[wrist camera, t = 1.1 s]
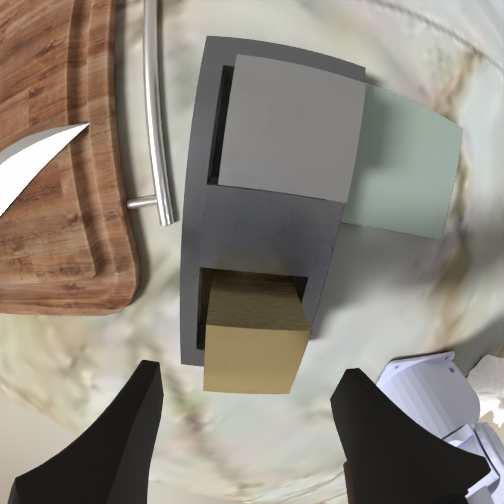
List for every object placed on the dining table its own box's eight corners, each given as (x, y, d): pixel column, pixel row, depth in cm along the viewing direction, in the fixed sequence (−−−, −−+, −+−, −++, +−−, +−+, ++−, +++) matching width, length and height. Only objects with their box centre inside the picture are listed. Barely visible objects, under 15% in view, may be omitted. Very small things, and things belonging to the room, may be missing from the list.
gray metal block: (313, 103, 12) (366, 83, 7) (301, 177, 14) (346, 203, 8) (235, 90, 12) (236, 54, 6) (224, 166, 13) (217, 184, 8)
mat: (458, 127, 13) (462, 127, 12) (436, 238, 16) (439, 240, 15) (361, 82, 12) (364, 81, 11) (337, 220, 15) (340, 222, 14)
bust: (453, 390, 29) (503, 410, 21) (438, 424, 25) (494, 446, 17) (485, 331, 24) (542, 354, 16) (478, 367, 20) (542, 392, 12)
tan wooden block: (285, 264, 16) (311, 331, 10) (273, 320, 17) (289, 393, 12) (214, 257, 15) (206, 325, 10) (209, 315, 17) (203, 390, 11)
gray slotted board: (344, 77, 12) (365, 67, 9) (289, 344, 18) (295, 370, 16) (211, 52, 11) (206, 35, 8) (186, 337, 17) (181, 364, 15)
